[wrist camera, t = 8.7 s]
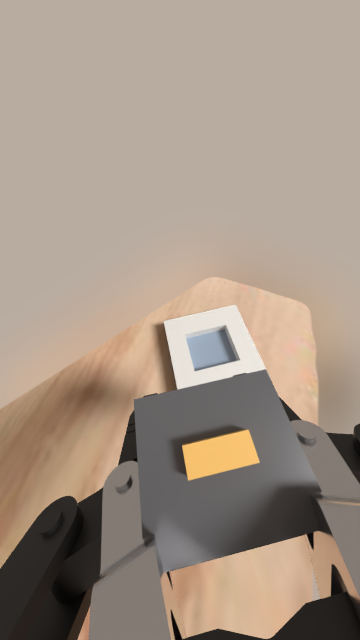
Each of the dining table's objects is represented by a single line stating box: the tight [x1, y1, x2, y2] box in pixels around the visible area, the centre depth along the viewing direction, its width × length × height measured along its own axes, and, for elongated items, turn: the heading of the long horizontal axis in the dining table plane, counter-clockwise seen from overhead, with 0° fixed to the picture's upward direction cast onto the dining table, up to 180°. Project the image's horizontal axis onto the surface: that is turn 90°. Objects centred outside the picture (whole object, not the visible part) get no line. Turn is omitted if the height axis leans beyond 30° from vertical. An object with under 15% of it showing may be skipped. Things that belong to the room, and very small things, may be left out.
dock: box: [164, 305, 270, 390], centre depth 29 cm, size 13×13×2 cm
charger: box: [134, 369, 322, 573], centre depth 9 cm, size 4×4×9 cm
